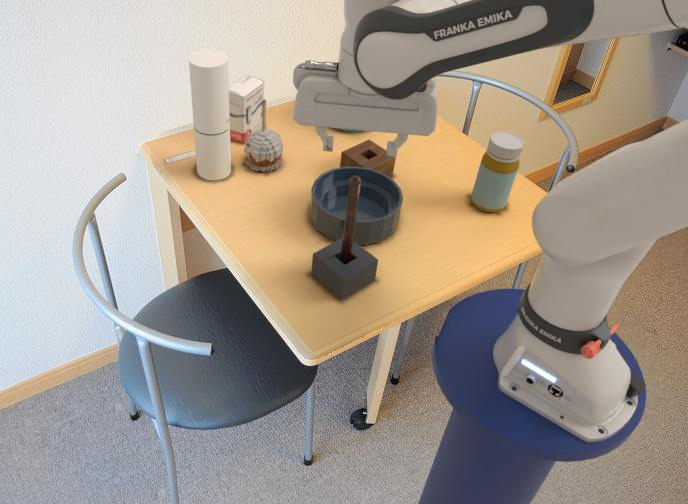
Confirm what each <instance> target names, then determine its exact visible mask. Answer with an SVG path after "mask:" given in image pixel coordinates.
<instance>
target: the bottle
mask: <svg viewBox="0 0 688 504" xmlns="http://www.w3.org/2000/svg"><path fill="white" fill-rule="evenodd" d="M524 145H525V141H524V139H523V137H521V136H520V135H518V134H516V133H514V132H511V131H507V130H506V131H505V130H500V131H499V130H498V131H495V132H493V133H492V134H491V135H490V137H489V141H488V144H487V148H486V151H485V152H484V153H483V155H482V157H481V159H480V164H479V167H478V171H477V174H476V178H475V181H474V184H473V188H472V191H471V194H470V195H471V196H470V200H471V201H470V202H471V203H472V204H473V206H474V207H475V208H476V209H477V210H479V211H481V212H485V213H490V214H491V213H492V214H493V213H498V212H500V211H502V210H504V209H505V208H506V206H507V203H508V200H509V198H510V194H511V192H512V189H513V185H514V183H515V180H516V176H517V174H518V171H519V168H520V157H521V154H522V152H523V148H524Z"/></svg>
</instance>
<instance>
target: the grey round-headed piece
mask: <svg viewBox="0 0 688 504" xmlns="http://www.w3.org/2000/svg"><path fill="white" fill-rule="evenodd" d="M266 121H267V99H265V98H264V99H263V100H262V128H260V129H259V128H257V129H256V130H254V131H253V132H252V133H250V134H249V137H248V138H247V140H246V141H245V142H244V143H245V144H244V153H245V158H244V161H245V165H246V166H247V167H248V169H251V170H254V171H256V172H259V171H261V172H264V173H265V172H268V171H270V172H271V171H273V170H277V169H278V168H279V167H280V166H282V165H283V157H282V156H283V150H284V143H283V140H282V138H281V136H280V134H278V132H276V131H275V130H273V129H271V128H268V127H267V123H266Z"/></svg>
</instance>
